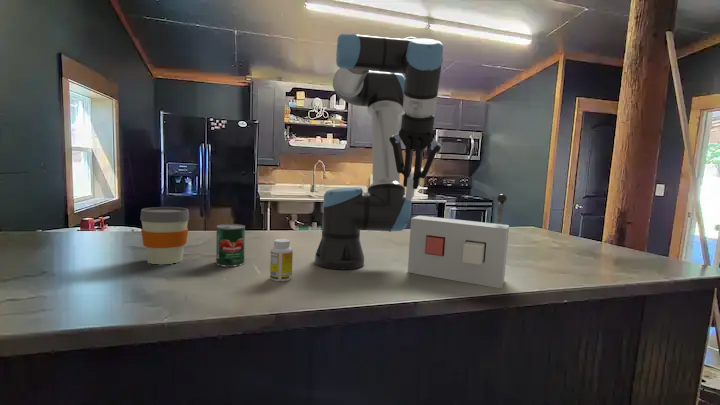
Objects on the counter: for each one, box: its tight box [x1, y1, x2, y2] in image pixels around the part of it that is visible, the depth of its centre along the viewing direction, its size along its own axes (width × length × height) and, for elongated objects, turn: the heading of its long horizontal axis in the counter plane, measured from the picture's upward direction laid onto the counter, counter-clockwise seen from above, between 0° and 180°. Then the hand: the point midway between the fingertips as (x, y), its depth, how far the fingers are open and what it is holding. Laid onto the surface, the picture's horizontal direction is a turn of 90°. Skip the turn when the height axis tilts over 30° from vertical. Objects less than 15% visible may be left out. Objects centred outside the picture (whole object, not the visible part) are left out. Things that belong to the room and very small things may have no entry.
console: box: [407, 215, 510, 289], centre depth 110 cm, size 26×8×16 cm, turn 65°
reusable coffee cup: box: [139, 206, 190, 265], centre depth 111 cm, size 13×13×15 cm
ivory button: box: [462, 241, 485, 265], centre depth 103 cm, size 5×6×5 cm
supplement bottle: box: [269, 238, 294, 282], centre depth 100 cm, size 6×6×10 cm
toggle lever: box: [495, 193, 508, 224], centre depth 107 cm, size 3×3×9 cm
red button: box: [426, 235, 445, 255], centre depth 111 cm, size 5×6×5 cm
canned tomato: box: [215, 223, 246, 267], centre depth 112 cm, size 8×8×11 cm
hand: (409, 197), depth 102 cm, fingers closed
